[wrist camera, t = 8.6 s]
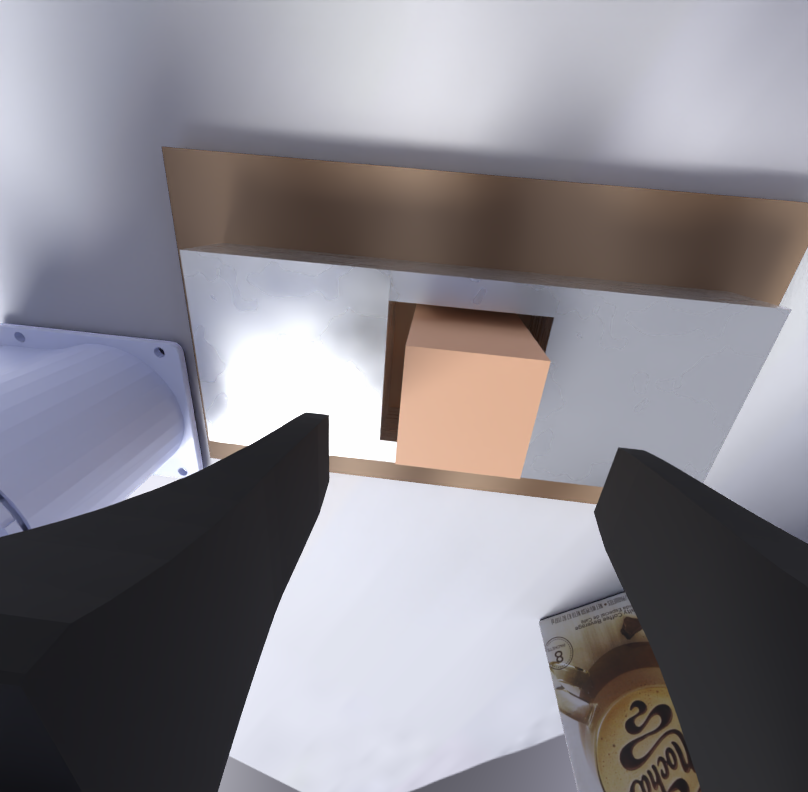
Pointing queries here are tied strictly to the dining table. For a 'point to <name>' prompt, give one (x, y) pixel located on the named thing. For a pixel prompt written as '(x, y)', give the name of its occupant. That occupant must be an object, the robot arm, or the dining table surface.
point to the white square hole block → (482, 290)
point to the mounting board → (481, 244)
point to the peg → (469, 391)
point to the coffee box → (615, 702)
